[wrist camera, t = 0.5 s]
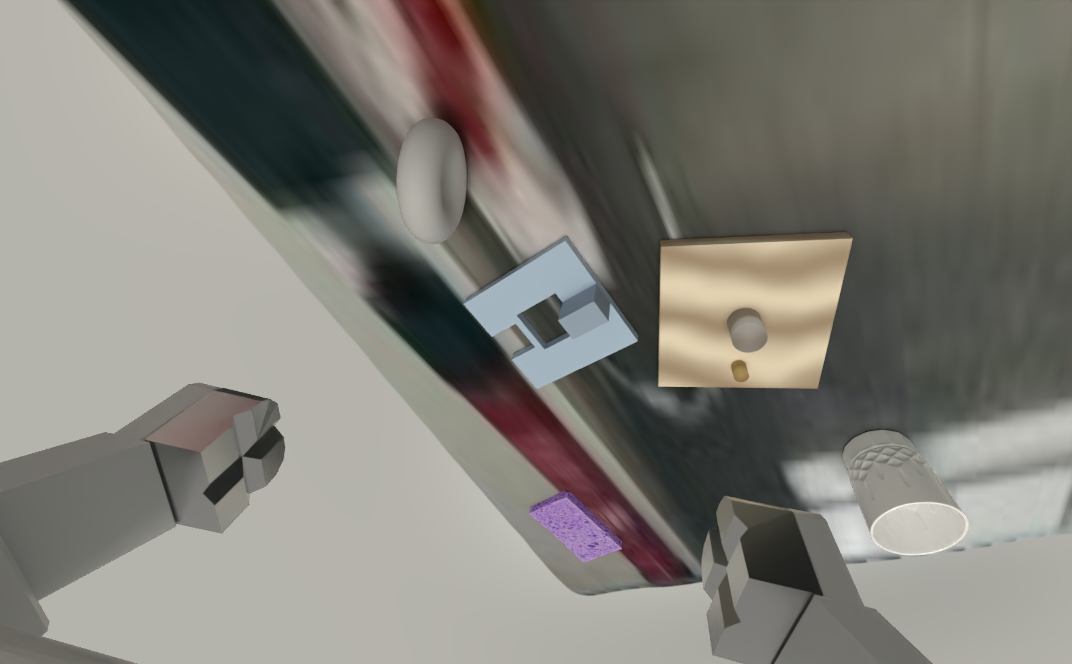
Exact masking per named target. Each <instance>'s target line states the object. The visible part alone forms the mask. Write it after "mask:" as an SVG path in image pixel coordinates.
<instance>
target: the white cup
mask: <svg viewBox="0 0 1072 664" xmlns="http://www.w3.org/2000/svg"><path fill="white" fill-rule="evenodd" d="M842 458H843V460H844V463H845V465H846V468H847V470H848V473H849V477H850V482H851V485H852V488H853V490H854V493H855V496H856V499H857V502H858V504H859V507H860V509H861V512H862V514H863V517H864V520H865V522H866V525H867V527H868V530H869V533H870V535H871V538H872V540H873V541H874V542H875V544H877V545H878V546H879V547H881V548H882V549H884V550H886V551H889V552H892V553H896V554H902V555H925V554H931V553H935V552H939V551H942V550H945V549H947V548H949V547H951V546H953V545H955V544H956V543H958V542H959V541H960V540H961V539H962V538H963V537H964V536H965V535H966V533H967V531H968V528H969V522H968V519H967V517H966V515H965V514H964V513H963V511H962V510H961V508H960V507H959V506H958V504H957V503H956V502H955V500H954V499H953V497H952V496H951V495H950V493H949V492H948V490H947V489H946V488H945V486H944V485H943V483H942V482H941V481H940V479H939V478H938V476H937V475H936V474H935V473H934V471H933V470H932V469H931V467H930V466H929V464H928V463H927V462H926V461H925V460H924V458H923V457H922V456H921V455H920V454H919V453H918V451H917V450H916V448H915V447H914V445H913V444H912V442H911V441H910V440H909V439H908V438H907V437H905V436H903V435H902V434H900V433H899V432H895V431H889V430H876V431H868V432H865V433H863V434H861V435H858V436H856V437H854V438H853V439H852V440H851V441H850V442H849V443H848V444H847V445H846V446H845V447H844V451H843V455H842Z"/></svg>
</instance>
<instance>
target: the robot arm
mask: <svg viewBox="0 0 1072 664" xmlns="http://www.w3.org/2000/svg"><path fill="white" fill-rule="evenodd" d="M279 419H280V413H279V408H278V404H277V403H276V402H274V401H272V400H271V399H268V398H263V397H259V396H255V395H251V394H247V393H242V392H238V391H234V390H230V389H226V388H219V387H215V386H211V385H207V384H203V383H194V384H188V385H187V386H185V387H184V388H182V389H181V390H179V391H178V392H176V393H175V394H173V395H172V396H171V397H169V398H167V399H166V400H164V401H163V402H161V403H160V404H158V405H157V406H155V407H154V408H152V409H150V410H149V411H147V412H146V413H144V414H143V415H142V416H140V417H138V418H137V419H135V420H134V421H132V422H131V423H129V424H128V425H126V426H125V427H123V428H122V429H120V430H119V431H117V432H116V433H114V434H112V433H107V432H105V433H101V434H97V435H94V436H91V437H87V438H84V439H80V440H77V441H74V442H70V443H67V444H63V445H60V446H56V447H53V448H49V449H46V450H42V451H39V452H36V453H32V454H29V455H25V456H22V457H19V458H15V459H12V460H8V461H5V462H2V463H0V664H137V663H133V662H130V661H126V660H123V659H119V658H116V657H112V656H109V655H105V654H101V653H98V652H94V651H91V650H87V649H84V648H81V647H77V646H74V645H70V644H66V643H63V642H59V641H56V640H52V639H49V638H45V637H42V635H43V634H44V633H45V632H47V630H48V625H49V620H48V618H47V616H46V615H45V613H44V611H43V609H42V607H41V606H40V604H39V602H38V600H40V599H42V598H44V597H46V596H48V595H50V594H52V593H53V592H55V591H57V590H59V589H60V588H62V587H65V586H67V585H68V584H70V583H72V582H74V581H76V580H78V579H79V578H81V577H83V576H85V575H87V574H89V573H90V572H92V571H94V570H96V569H98V568H100V567H102V566H104V565H105V564H107V563H109V562H111V561H113V560H115V559H117V558H119V557H120V556H122V555H124V554H126V553H128V552H130V551H131V550H133V549H135V548H137V547H139V546H140V545H142V544H144V543H146V542H148V541H150V540H152V539H154V538H156V537H157V536H159V535H161V534H163V533H165V532H166V531H169V530H170V529H172V528H174V527H175V526H176V524H181V525H185V526H189V527H194V528H199V529H204V530H208V531H213V532H217V533H223V532H224V531H225V530H226V529H227V528H228V527H229V525H230V524H231V523H232V522H233V521H234V520H235V519H236V518H237V517H238V516H239V515H240V514H241V513H242V512H243V510H244V509H245V508H246V507H247V506H248V505H249V497H250V493H252V492H254V491H256V490H259V489H261V488H263V487H265V486H267V484H268V483H269V482H270V481H271V480H272V479H273V478H274V477H275V475H276V474H277V472H278V470H279V468H280V466H281V464H282V461H283V459H284V451H285V444H284V437H283V436H282V434H281V433H280V432H279V431H278V429H277V428H276V427H275V424H276V423H277V422H278V421H279ZM716 514H717V519H718V525H719V526H717V527H715V528H713V529H712V530H710V531H709V532H708V535H707V538H706V541H705V544H704V549H703V556H702V581H703V589H704V590H705V591H706V593H707V594H708V595H709V597H710V598H711V599H712V603H711V605H710V608H709V610H708V612H707V619H708V626H709V633H710V641H711V648H712V655H714V656H718V657H721V658H725V659H729V660H732V661H736V662H739V663H743V664H932V663H931V662H930V661H929V660H928V659H927V658H926V657H925V656H924V655H923V654H922V653H921V652H920V651H919V650H918V649H917V648H916V647H914V646H913V645H912V644H911V643H910V642H909V641H908V640H907V639H906V638H905V637H904V636H903V635H902V634H901V633H900V632H899V631H898V630H897V629H896V628H894V627H893V626H892V625H891V624H890V623H889V622H888V621H887V620H886V619H885V618H884V617H883V616H882V615H881V614H880V613H879V612H878V611H877V610H876V609H873V608H869V607H865V606H864V604H863V602H862V600H861V598H860V596H859V594H858V591H857V589H856V586H855V584H854V582H853V580H852V578H851V575H850V573H849V571H848V569H847V566H846V564H845V562H844V560H843V557H842V555H841V553H840V551H839V548H838V546H837V544H836V542H835V539H834V537H833V535H832V533H831V530H830V528H829V526H828V524H827V521H826V520H825V519H824V518H823V517H822V516H821V515H820V514H815V513H810V512H804V511H799V510H794V509H789V508H788V509H785V508H782V507H777V506H772V505H767V504H762V503H757V502H752V501H747V500H743V499H738V498H733V497H728V496H725V497H724V498H723V499H722V501H721V502H720V505H719V507H718V509H717V512H716Z"/></svg>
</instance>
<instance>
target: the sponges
mask: <svg viewBox="0 0 1072 664" xmlns="http://www.w3.org/2000/svg"><path fill="white" fill-rule="evenodd" d="M530 515H532V516H533V517H534V518H535V519H536V520H537V521H539V522H540V523H541V524H542V525H543V526H544V527H546V528H547V529H548V530H549V531H550V532H552V533H553V535H555V536H556V537H557V538H558V539H559V540H560V541H562V542H564V545H565V546H567V547H568V548H569V549H570V550H571V551H572V552H574V554H575V555H576V556H577V557H578V558H580V559H581V560H582V561H583V562H584V563H585V562H587V561H590V560H593V559H595V558H597V557H598V556H603V555H606V554H607V553H610V552H612V551H613V552H615V551H617V550H619V549H622V547H621V543H622V542H621V540H620V539H619V538H618V537H617V536H616V535H615V534H614V533H613V532H612V531H611V530H610V529H608V528H607V527H606V526H605V525H604V524H603V523H602V522H601V521H600V520H599V519H598V518H596V516H595V515H594V514H593V513H592V512H591V511H589V510H588V509H587V508H586V507H585V506H584V505H583V504H582V503H581V502H580V501H579V500H578V499H577V498H576V497H575V496H574V495H573V494H572V493H570V492H566V491H563V492H561V493H559V494H557V495H555V496H553V497H551V498H549V499H547V500H546V501H542V502H540V503H538V504H535V505H533V506H531V508H530Z"/></svg>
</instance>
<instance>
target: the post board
mask: <svg viewBox="0 0 1072 664" xmlns="http://www.w3.org/2000/svg"><path fill="white" fill-rule="evenodd" d="M852 240H853V238H852V237H851V236H850V235H849V234H848V233H847V232H832V233H809V234H787V235H765V236H743V237H720V238H698V239H676V240H660V292H659V351H658V385H659V386H669V387H745V388H818V384H819V380H820V376H821V371H822V367H823V363H824V359H825V354H826V350H827V346H828V342H829V337H830V333H831V329H832V325H833V320H834V316H835V312H836V308H837V303H838V299H839V295H840V291H841V286H842V282H843V278H844V274H845V269H846V265H847V261H848V257H849V252H850V248H851V244H852Z"/></svg>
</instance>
